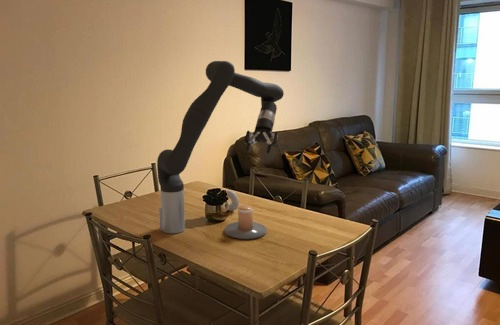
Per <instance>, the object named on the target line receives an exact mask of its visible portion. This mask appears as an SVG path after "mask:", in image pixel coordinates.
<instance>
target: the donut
mask: <svg viewBox="0 0 500 325" xmlns="http://www.w3.org/2000/svg"><path fill="white" fill-rule="evenodd" d="M225 191H226V193H227V197H228V199H230V201H231V203H230V201H229V200H228V206H229V212H233V211H236V210H238V207H239V206H240V205H239V203H240V201H239V200H240V199H239V197H238V195H237V193H236V192H234V191H233V190H230V189H229V190H225Z"/></svg>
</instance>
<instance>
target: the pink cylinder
mask: <svg viewBox="0 0 500 325" xmlns="http://www.w3.org/2000/svg"><path fill="white" fill-rule="evenodd" d="M237 218H238V219H237V222H238V229H239V230H240V231H251V230H252V229H253V222H254V207H253V206H252V205H247V204H246V205H244V204H243V205H238V207H237Z"/></svg>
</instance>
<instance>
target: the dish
mask: <svg viewBox="0 0 500 325" xmlns="http://www.w3.org/2000/svg"><path fill="white" fill-rule="evenodd" d="M266 233H267V227H266V226H265V225H263V223H259V222H255V221H253V229H252V230H251V231H240V230H239V229H238V221H236V222H232V223H228V224H227V225H225V227H224V234H225V235H226V236H228V237H229V238H232V239H238V240H239V239H240V240H252V239H258V238H261V237H263V236H265V234H266ZM266 235H267V234H266Z"/></svg>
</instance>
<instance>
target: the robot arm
mask: <svg viewBox="0 0 500 325" xmlns="http://www.w3.org/2000/svg"><path fill="white" fill-rule="evenodd" d="M205 76H206V78H207V79H208V80H209V81H210V82H209V84H208V86H207V88H206V89H205V90H204V91H203V92H201V94H199V95H198V97H196V98H195V99H194V100H193V102H192V103H191V104H190V106H189V107H188V109H187V111H186V113H185V115H184V116H183V119H182V123H181V129H180V130H181V131H180V134H179V135H180V137H179V139H178V141H177V143H176V144H175V146H174V148H173V149H164V150H162V151H161V152H159V155H158V157H157V160H156V166H157V168H156V170H157V180H158V184H159V187H160V205H161V206H160V207H159V210H158V212H159V231H161V232H163V233H165V234H179V233H182V232H184V231H185V229H186V226H185V225H186V224H185V195H184V194H185V193H184V192H185V190H184V189H185V186H184V182H183V180H182V179H181V177H180V174H182V173H183V172H184V171H185V169H186V167H187V165H188V163H189V160H190V158H191V155H192V153H193V150H194V148H195V145H196V144H197V142H198V140H199V138H200V136H201V135H202V133H203V130H204V129H205V127H206V126H207V123H208V122H209V120H210V118H211V117H212V114H213V112H214V111H215V109H216V107H217V105H218V103H219V101H220V100H221V97H222V96H223V94H224V93H225V92H226V90H227V88H228V87H231V88H235V89H238V90H240V91H241V92H244V93H247V94H249V95H250V96H251V95H252V96H253V97H256V98H260V105H261V107H260V111H259V114H258V116H257V121H256V124H255V127H254V131H253V132H252V131H250V130H247V131H246V134H245V136H244V140H243V143H244V144H245V145H246V148H245V151H246V153H247V154H250V153H251V149H252V146H253V145H255V144H256V143H267V148H266V155H270V154H271V152H272V149H273V148H274V147H278V140H279V134H278V132H277V131H275V132H274V133H272V132H273V128H274V125H275V120H276V119H275V118H276V113H277V109H278V108H277V104H276V103H277V102H278V101H280V100H282V98H283V97H284V90H283V88H282V87H281V86H280V85H279V84H275V83H271V82H263V81H261V80H259V79H256V78H254V77H251V76H247V75H243V74H240V73H238V72H235V67H234V64H233V63H232V62H230V61H226V60H214V61H211V62H210V63H208V64H207V65H206V68H205ZM270 139H273V140H272V141H271V140H270Z"/></svg>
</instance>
